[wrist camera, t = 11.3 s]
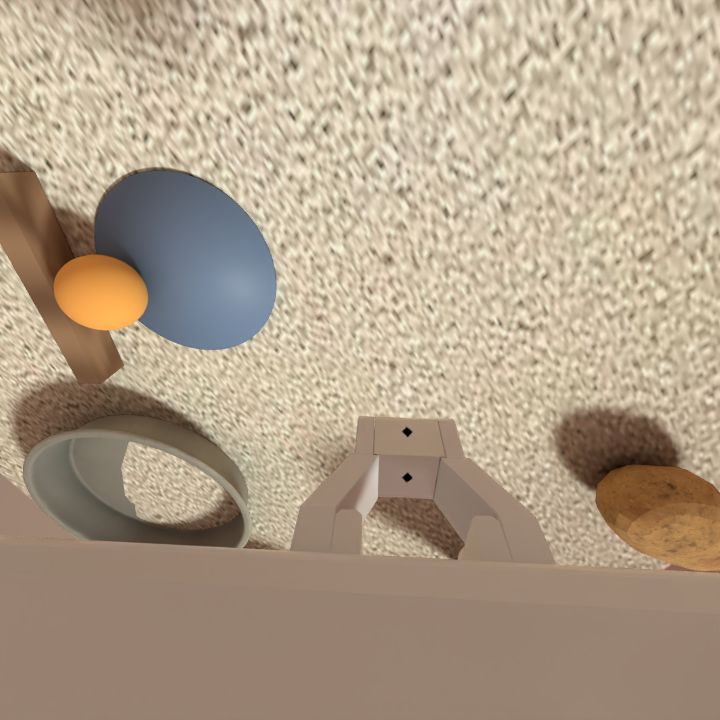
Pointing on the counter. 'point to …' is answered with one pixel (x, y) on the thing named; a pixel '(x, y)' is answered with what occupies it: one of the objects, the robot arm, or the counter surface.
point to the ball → (100, 292)
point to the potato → (664, 514)
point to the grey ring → (105, 484)
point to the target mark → (190, 258)
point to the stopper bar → (49, 274)
